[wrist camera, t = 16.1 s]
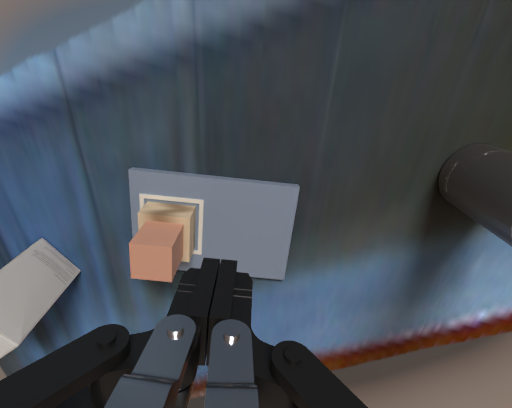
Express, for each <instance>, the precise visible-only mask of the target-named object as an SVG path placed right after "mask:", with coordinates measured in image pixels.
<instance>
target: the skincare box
mask: <svg viewBox="0 0 512 408" xmlns="http://www.w3.org/2000/svg"><path fill="white" fill-rule="evenodd" d="M80 271H81V270H80V269H78V268H77V267H76V266H75V265H74V264H73V263H71V262H70V261H69V260H68V259H67V258H65V257H64V256H63V255H62V254H61V253H60V252H58V251H57V250H56V249H55V248H54V247H53V246H51V245H50V244H49V243H48V242H47V241H46V240H44V239H43V238H41V239H39V240H38V241H37V242H35V243H34V244H33V245H31V246H30V247H29V248H27V249H26V250H25V251H23V252H22V253H21V254H20V255H18V256H17V257H16V258H14V259H13V260H12V261H11V262H9V263H8V264H7V265H6V266H4V267H3V268H2V269H1V270H0V358H2V357H3V356H5V355H6V354H8V353H9V352H11V351H12V350H13V349H15V348H16V347H18V346H19V345H20V344H21V342H22V341H23V340H24V339H25V338H26V336H27V335H28V334H29V333H30V331H31V330H32V329H33V328H34V327H35V325H36V324H37V323H38V322H39V321H40V319H41V318H42V317H43V316H44V315H45V313H46V312H47V311H48V310H49V309H50V308H51V306H52V305H53V304H54V303H55V301H56V300H57V299H58V298H59V297H60V295H61V294H62V293H63V292H64V291H65V290H66V288H67V287H68V286H69V285H70V284H71V282H72V281H73V280H74V279H75V277H76V276H77V275H78V274H79V273H80Z"/></svg>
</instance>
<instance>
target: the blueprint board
mask: <svg viewBox="0 0 512 408" xmlns="http://www.w3.org/2000/svg"><path fill="white" fill-rule="evenodd" d="M129 186H130V203H131V219H132V235H133V237H134V236H135V235H136V233H137V232H138V212H139V211H140V209H141V208H142V207H143V206H144V205H145V204H146V203H147V201H150V202H160V203H170V204H180V205H190V206H196V220H195V248H194V251H193V253H192V256H191V259H190V261H189V262H183V261H181V262H180V264H179V267H178V269H177V270H184V271H187V270H188V269H189V268H199V269H200V268H201V265H202V261H203V258H204V257H205V258H215V259H220V263H221V259H226V260H236V261H237V272H242V273H248V274H249V276H250V277H257V278H268V279H278V280H284V276H285V270H286V264H287V259H288V253H289V247H290V241H291V235H292V229H293V223H294V218H295V212H296V206H297V200H298V194H299V188H300V187H299V185H297V184H288V183H278V182H269V181H259V180H249V179H240V178H230V177H221V176H211V175H201V174H192V173H182V172H172V171H163V170H153V169H144V168H134V167H131V168H130V169H129Z"/></svg>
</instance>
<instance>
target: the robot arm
mask: <svg viewBox="0 0 512 408" xmlns="http://www.w3.org/2000/svg"><path fill="white" fill-rule="evenodd" d="M438 186H439V190H440V193H441V195H442V196H443V197H444V198H445V200H446V201H448V202H449V203H451V204H452V205H454V206H455V207H456V208H458V209H459V210H461V211H462V212H463V213H465V214H466V215H468V216H469V217H470V218H472V219H473V220H475V221H476V222H478V223H479V224H480V225H482V226H483V227H485V228H486V229H487V230H489V231H490V232H492V233H493V234H495V235H496V236H497V237H499V238H500V239H502V240H503V241H505V242H506V243H507V244H509V245H510V246H512V152H511V151H507V150H504V149H501V148H498V147H495V146H492V145H489V144H473V145H470V146H467V147H464V148H462V149H460V150H459V151H457V152H456V153H454V154H453V155H452V156H451V157H450V158H449V159H448V160H447V161H446V163H445V164H444V166H443V167H442V170H441V172H440V175H439V179H438ZM252 283H253V281H252V279H251V277H250V276H249V274H248V273H242V272H237V261H236V260H226V259H221V263H220V259H215V258H205V257H204V258H203V261H202V265H201V268H200V269H199V268H189V269H188V270H187V271H186V272H185V273H184V274H183V275H182V278H181V280H180V284H179V286H178V288H177V291H176V294H175V296H174V299H173V301H172V304H171V307H170V309H169V312H168V314H167V317H165V318H163V319H162V320H161V321H159V322H158V324H157V325H156V327H155V329H153V330H150V331H147V332H143V333H137V334H131V335H129V332H128V330H127V329H126V328H125V327H123V326H121V325H117V324H109V325H104V326H101V327H98V328H96V329H94V330H93V331H91V332H89V333H87V334H85V335H83V336H82V337H80V338H78V339H76V340H74V341H72V342H71V343H69V344H67V345H65V346H63V347H61V348H59V349H58V350H56V351H54V352H52V353H50V354H48V355H47V356H45V357H43V358H41V359H39V360H37V361H36V362H34V363H32V364H30V365H28V366H26V367H24V368H23V369H21V370H19V371H17V372H15V373H13V374H12V375H10V376H8V377H6V378H4V379H2V380H1V381H0V408H187V406H188V403H189V399H190V396H191V393H192V389H193V386H194V379H195V376H196V372H197V367H198V365H205V360H206V355H207V363H206V366H208V377H207V385H206V394H205V405H204V408H368V407H367V406H366V405H365V404H363V402H362V401H360V399H358V398H357V397H356V396H355V395H354V394H353V393H352V392H351V391H350V390H349V389H348V388H347V387H346V386H345V385H344V384H343V383H342V382H341V381H340V380H339V379H338V378H337V377H336V376H335V375H334V374H333V373H332V372H331V371H330V370H329V369H328V368H327V367H326V366H325V365H324V364H323V363H322V362H321V361H320V360H319V359H318V358H317V357H316V356H315V355H314V354H313V353H312V352H311V351H309V350H308V349H307V348H306V347H305V346H304V345H302V344H300V343H298V342H295V341H283V342H280V343H278V344H277V345H276V346H272V345H269V344H267V343H265V342H263V341H261V340H260V339H258V338H257V337H256V336H255V335H254V333H253V331H252V329H251V308H252Z"/></svg>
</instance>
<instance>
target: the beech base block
mask: <svg viewBox="0 0 512 408" xmlns="http://www.w3.org/2000/svg"><path fill="white" fill-rule="evenodd" d="M146 220H148V221H157V222H167V223H177V224H184V234H183V257H182V259H181V261H183V262H189V261H190V259H191V256H192V253H193V251H194V248H195V220H196V206H190V205H180V204H170V203H160V202H150V201H147V203H146V204H145V205H144V206H143V207H142V208H141V209H140V211H139V212H138V231H139V229H140V228H141V227H142V226H143V224H144V223H145V222H146Z"/></svg>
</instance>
